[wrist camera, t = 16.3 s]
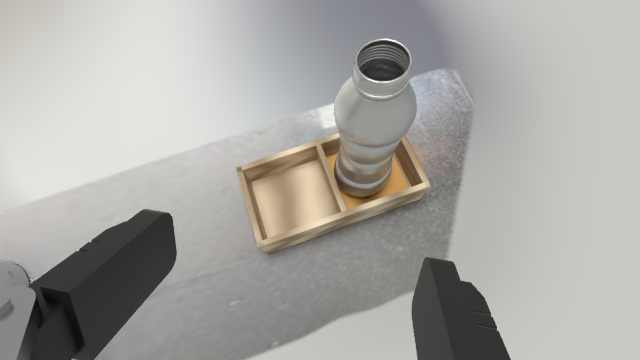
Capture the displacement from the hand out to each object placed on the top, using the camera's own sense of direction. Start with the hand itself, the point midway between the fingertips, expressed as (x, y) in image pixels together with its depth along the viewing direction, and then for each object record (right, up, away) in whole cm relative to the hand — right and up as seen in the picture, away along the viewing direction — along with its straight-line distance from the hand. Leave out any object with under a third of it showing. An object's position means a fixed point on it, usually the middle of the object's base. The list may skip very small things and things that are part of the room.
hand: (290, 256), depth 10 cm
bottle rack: (+2, +1, +30) cm, 30 cm away
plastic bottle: (+6, +3, +29) cm, 30 cm away
